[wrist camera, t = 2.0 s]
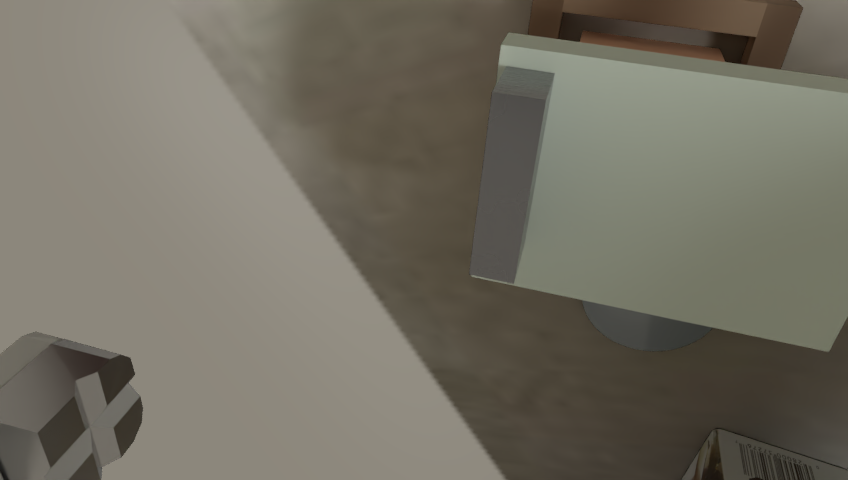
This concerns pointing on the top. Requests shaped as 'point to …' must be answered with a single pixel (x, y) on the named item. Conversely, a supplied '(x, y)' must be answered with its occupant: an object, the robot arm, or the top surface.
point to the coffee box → (754, 462)
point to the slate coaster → (642, 328)
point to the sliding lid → (668, 187)
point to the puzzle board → (689, 20)
